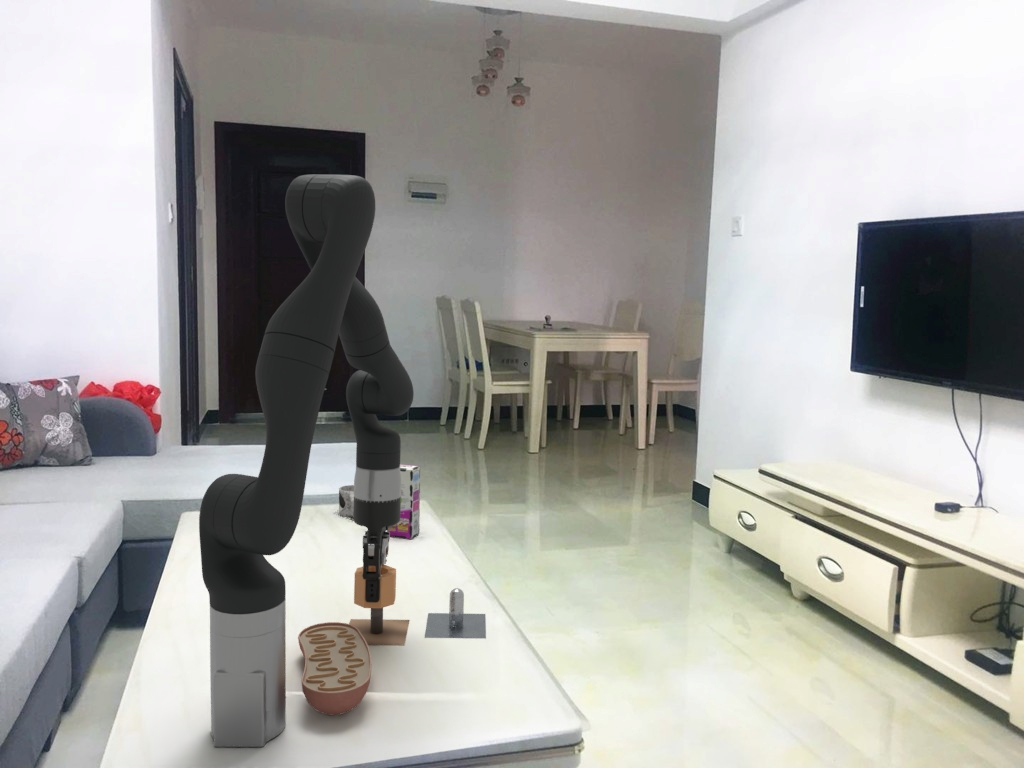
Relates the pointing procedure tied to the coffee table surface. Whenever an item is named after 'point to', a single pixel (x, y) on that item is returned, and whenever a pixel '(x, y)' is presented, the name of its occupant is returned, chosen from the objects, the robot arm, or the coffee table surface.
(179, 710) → the coffee table surface
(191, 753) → the coffee table surface
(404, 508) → the candy bar box
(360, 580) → the collar
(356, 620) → the stand
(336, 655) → the anatomical model
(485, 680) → the coffee table surface
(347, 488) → the mug
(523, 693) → the coffee table surface
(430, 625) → the silver peg on base
